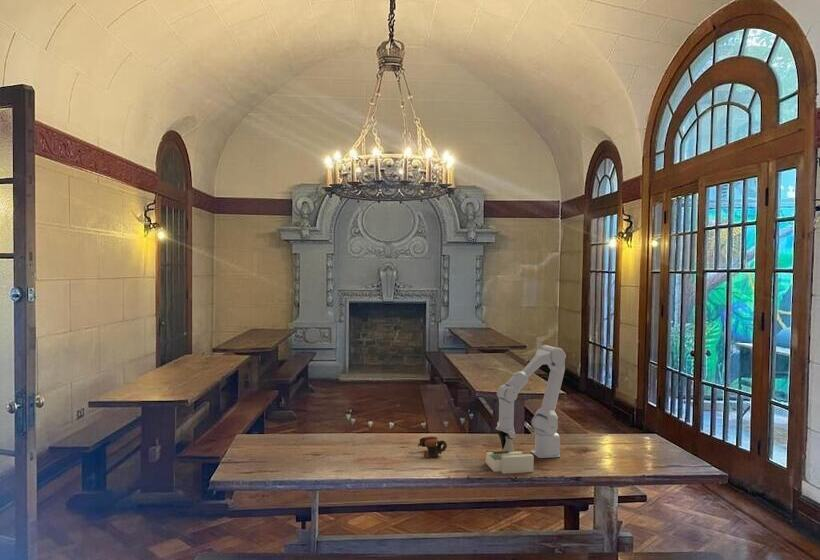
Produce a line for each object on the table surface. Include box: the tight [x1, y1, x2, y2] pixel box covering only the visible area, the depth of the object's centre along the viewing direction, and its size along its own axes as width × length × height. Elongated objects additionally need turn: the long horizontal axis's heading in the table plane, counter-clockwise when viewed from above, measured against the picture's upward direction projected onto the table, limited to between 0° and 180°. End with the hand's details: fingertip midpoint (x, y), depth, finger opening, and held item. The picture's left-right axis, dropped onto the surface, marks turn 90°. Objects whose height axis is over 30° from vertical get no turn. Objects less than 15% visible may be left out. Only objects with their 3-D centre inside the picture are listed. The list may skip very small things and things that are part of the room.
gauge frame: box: [485, 450, 535, 475], centre depth 220 cm, size 14×12×6 cm
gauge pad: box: [493, 450, 524, 456], centre depth 221 cm, size 12×2×6 cm, turn 102°
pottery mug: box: [417, 436, 448, 459], centre depth 234 cm, size 12×10×8 cm
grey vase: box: [500, 436, 515, 457], centre depth 224 cm, size 7×7×10 cm
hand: (505, 450), depth 227 cm, fingers closed
